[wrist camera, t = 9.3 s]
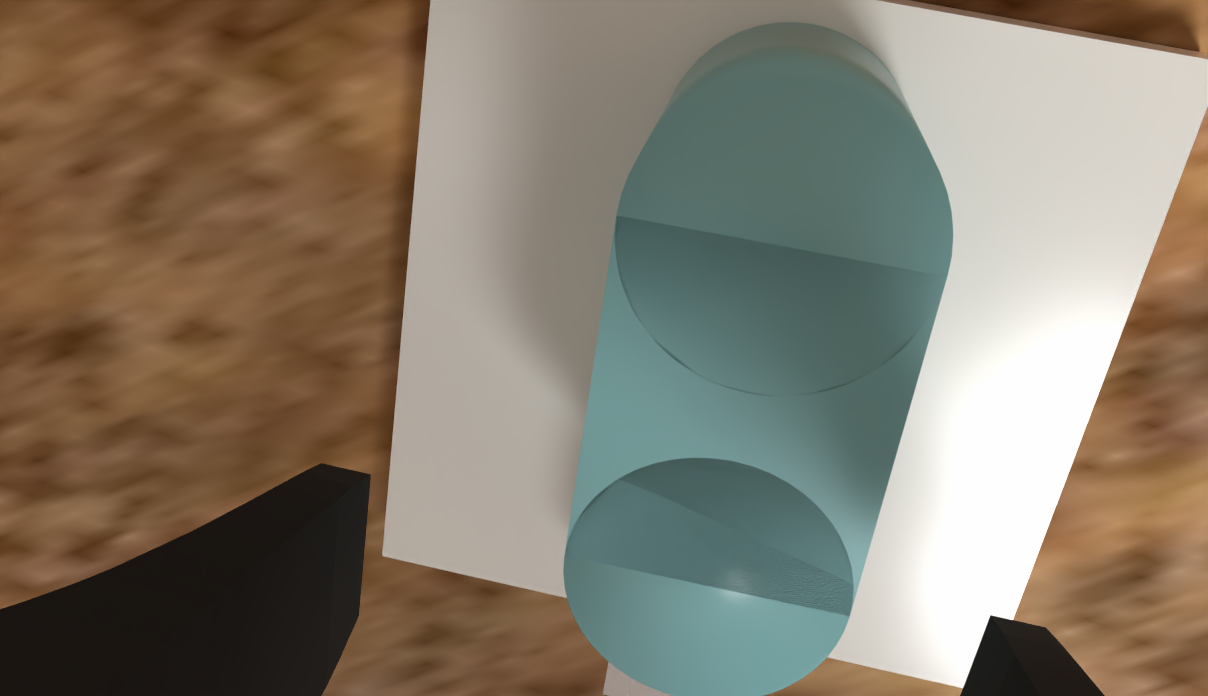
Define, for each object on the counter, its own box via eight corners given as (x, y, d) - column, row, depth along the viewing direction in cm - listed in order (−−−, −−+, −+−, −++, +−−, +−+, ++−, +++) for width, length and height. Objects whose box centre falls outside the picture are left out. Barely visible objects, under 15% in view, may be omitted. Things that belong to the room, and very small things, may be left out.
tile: (1201, 52, 17) (1224, 62, 16) (977, 659, 22) (985, 693, 21) (455, -81, 18) (437, -79, 17) (398, 529, 23) (382, 556, 22)
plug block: (941, 45, 17) (995, 109, 12) (790, 626, 21) (788, 828, 17) (682, 2, 17) (641, 47, 13) (587, 582, 22) (531, 769, 17)
